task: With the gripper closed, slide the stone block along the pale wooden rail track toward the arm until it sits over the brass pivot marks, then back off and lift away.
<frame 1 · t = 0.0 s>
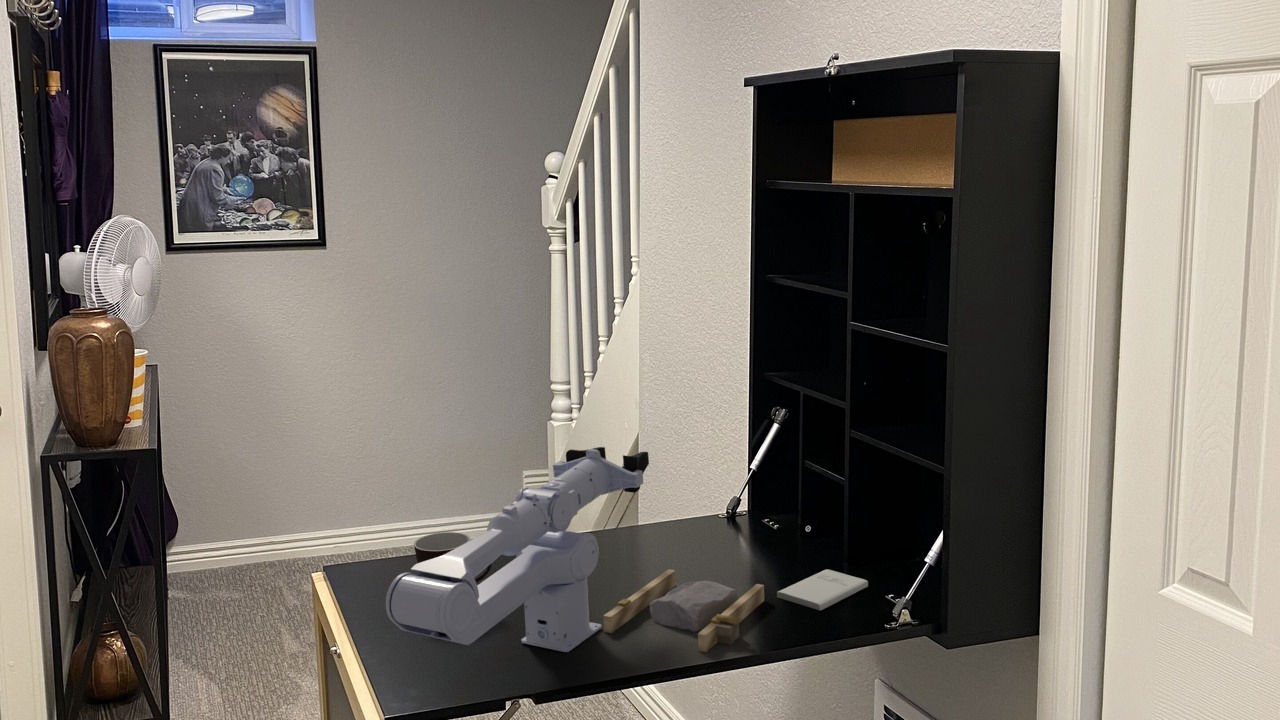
hand: (624, 455, 180), 22 cm above the table, tool horizontal, fingers open, 7 cm apart
beam track: (686, 615, 173), on the table
stone block: (691, 615, 174), on the table
coffee mug: (452, 606, 181), on the table
external hard drive: (823, 596, 180), on the table
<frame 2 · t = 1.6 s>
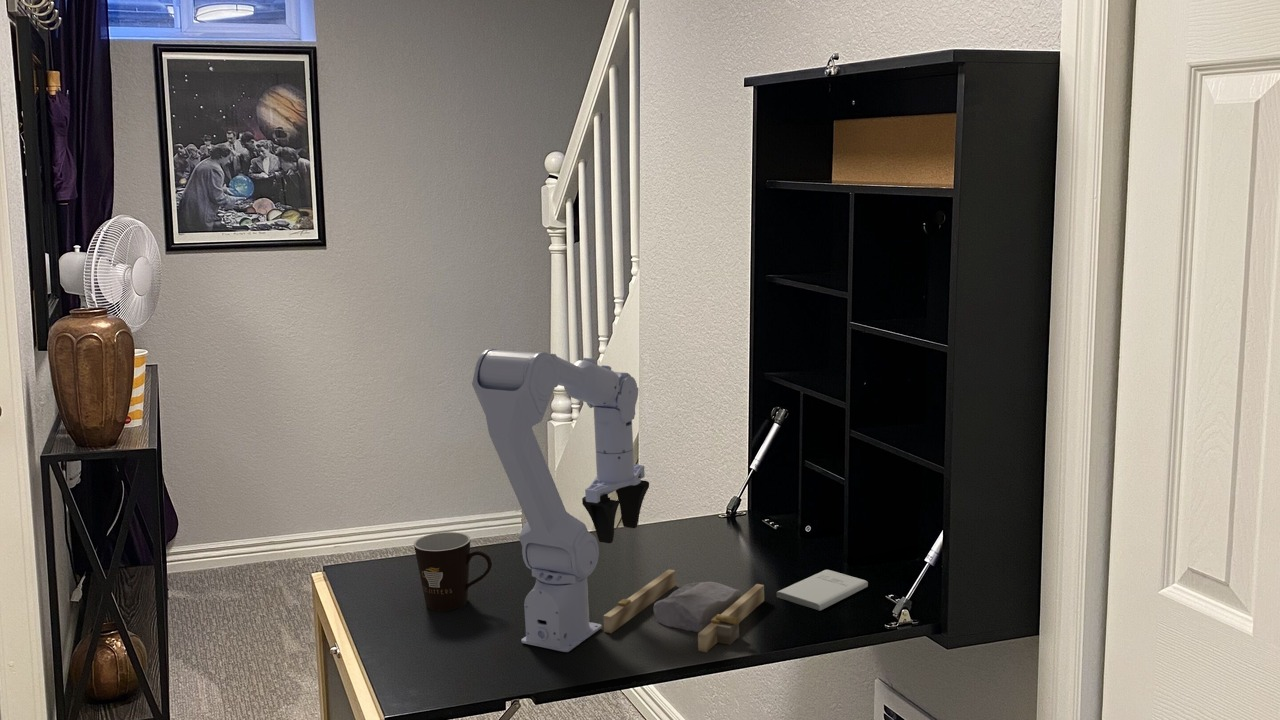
hand: (618, 534, 180), 10 cm above the table, tool pointing down, fingers open, 7 cm apart
nothing on the table moved.
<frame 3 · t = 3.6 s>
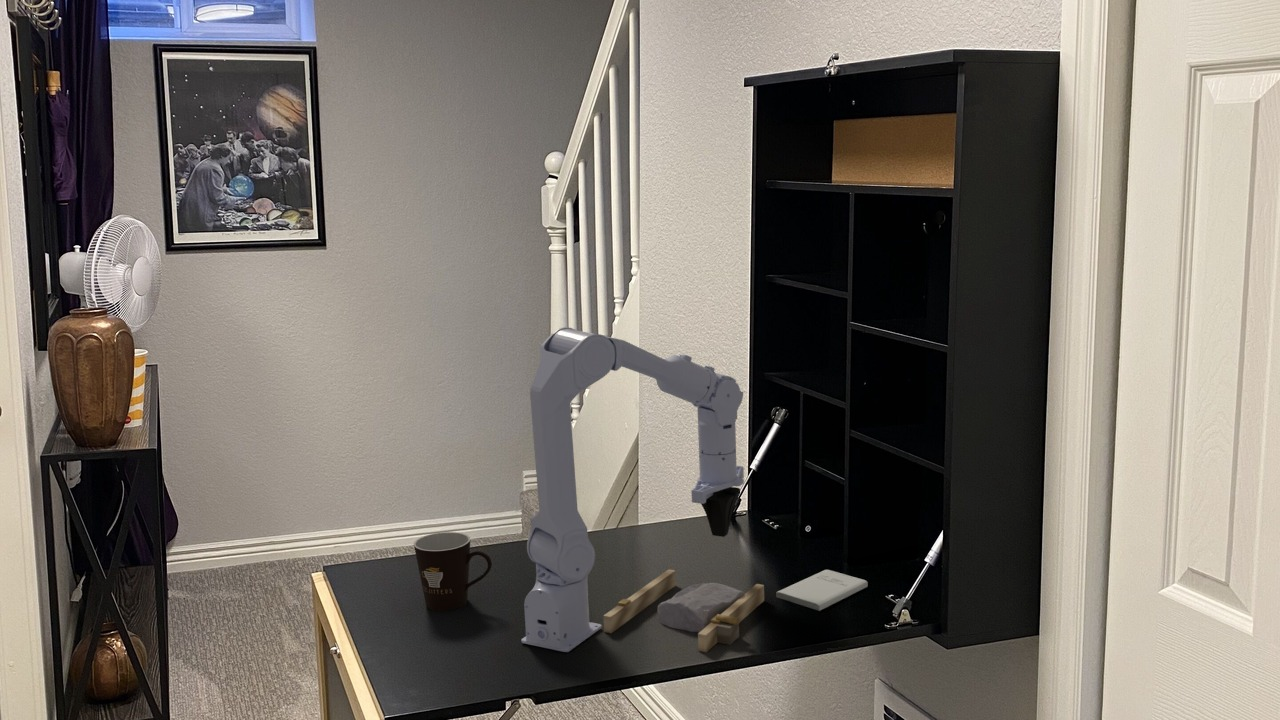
hand: (719, 534, 182), 9 cm above the table, tool pointing down, fingers closed
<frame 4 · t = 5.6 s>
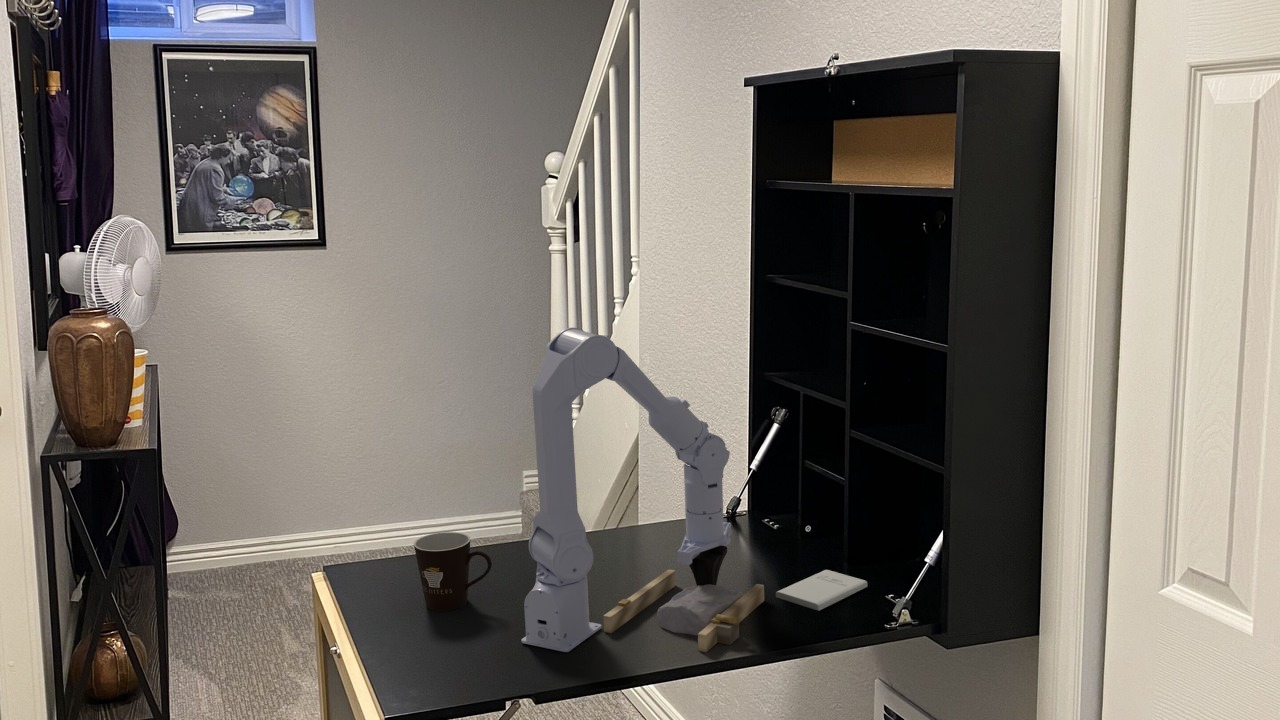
hand: (706, 593, 179), 1 cm above the table, tool pointing down, fingers closed
stone block: (698, 620, 172), on the table, touching gripper
everything else where it was.
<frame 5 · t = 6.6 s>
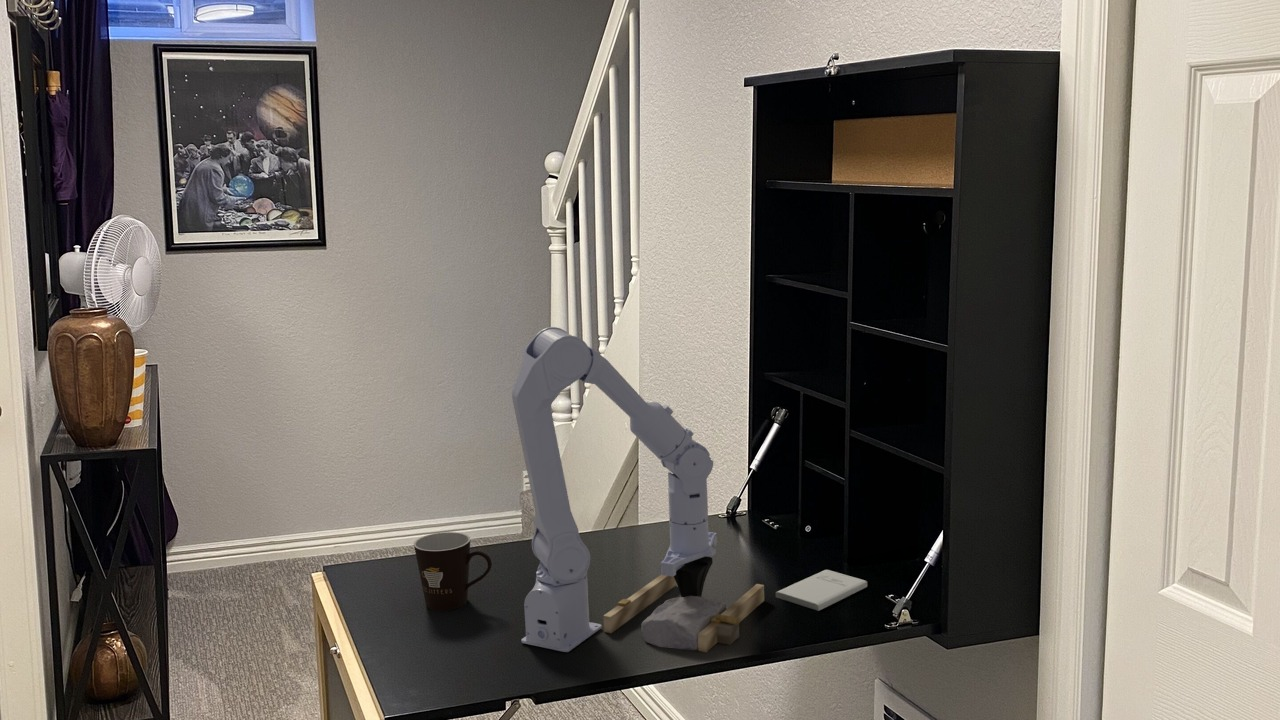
hand: (691, 605, 174), 1 cm above the table, tool pointing down, fingers closed
stone block: (682, 633, 168), on the table, touching gripper
everything else where it was.
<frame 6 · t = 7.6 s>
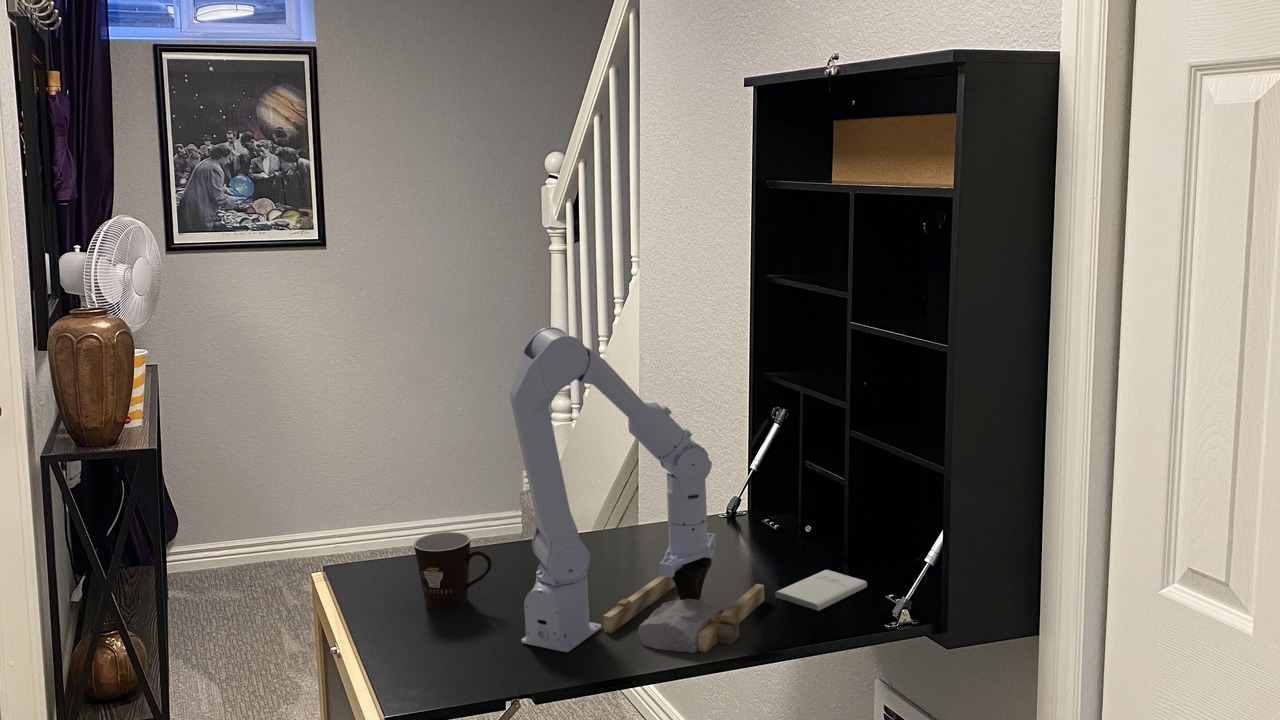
hand: (690, 606, 174), 1 cm above the table, tool pointing down, fingers closed
stone block: (679, 636, 167), on the table
everything else where it was.
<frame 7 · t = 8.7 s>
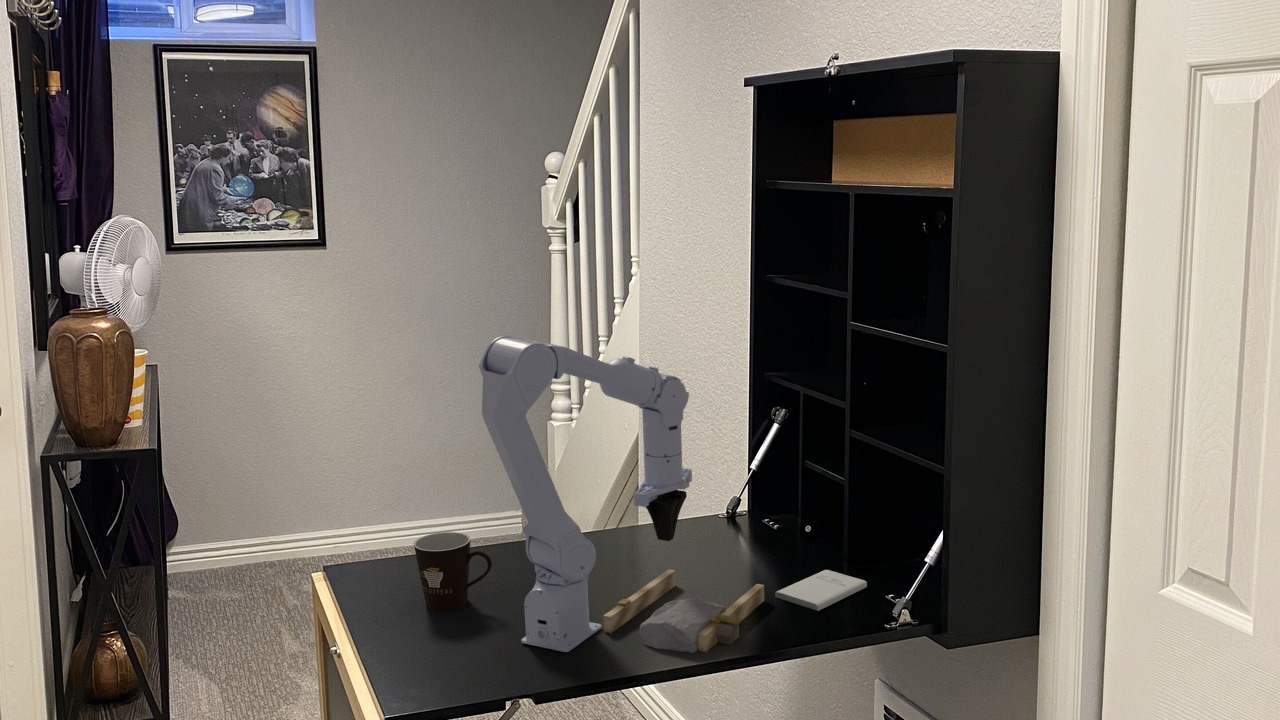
hand: (665, 539, 177), 10 cm above the table, tool pointing down, fingers closed
nothing on the table moved.
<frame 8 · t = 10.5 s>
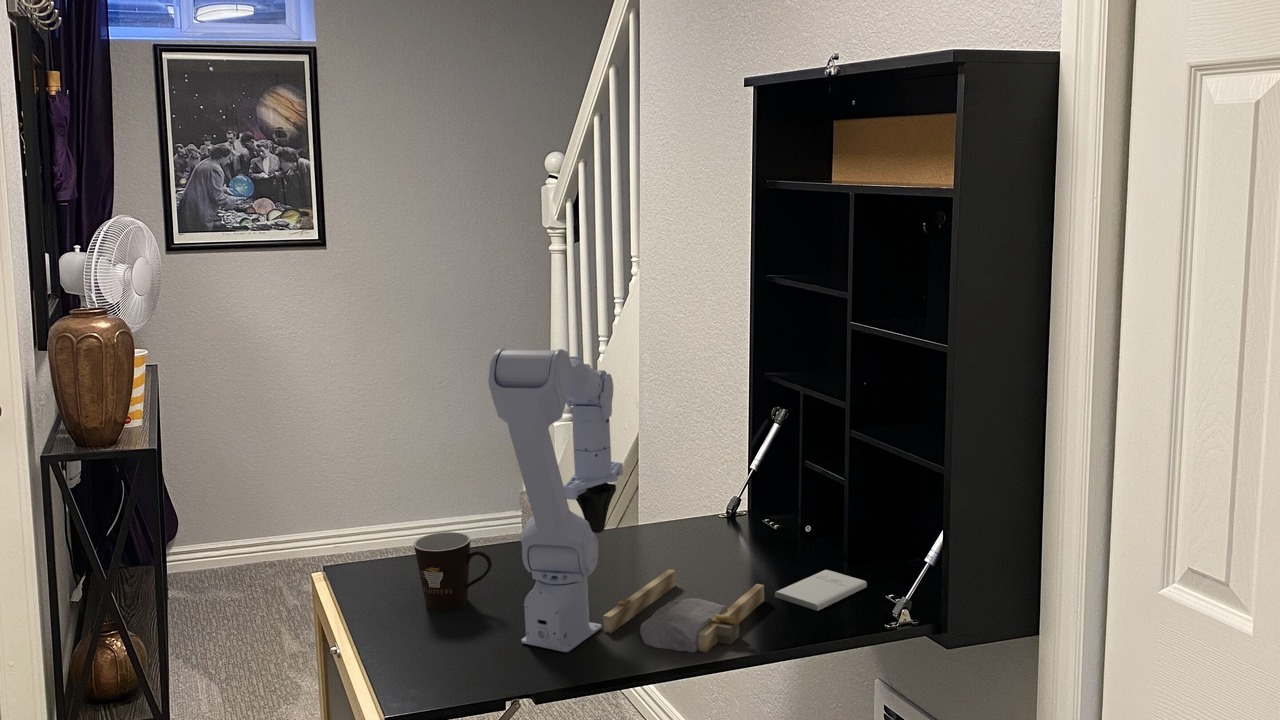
hand: (596, 531, 182), 10 cm above the table, tool pointing down, fingers closed
nothing on the table moved.
at the end: stone block inside the target area (2.2 cm from its centre), on the table; stone block moved 7.4 cm from its start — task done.
